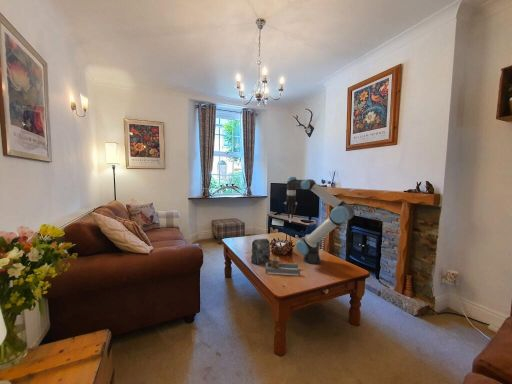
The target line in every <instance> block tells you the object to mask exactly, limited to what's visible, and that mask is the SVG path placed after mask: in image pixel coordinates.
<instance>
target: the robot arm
mask: <svg viewBox="0 0 512 384" xmlns="http://www.w3.org/2000/svg"><path fill="white" fill-rule="evenodd" d="M286 181H287V183H286V184H287V185H286V200H285V201H284V202H283V205H284V209H285V213H286V215H287V218H288V220H289V221H288V222H289V223H292V219H293V218H294V216H293V215H295V214H296V211H297V208H298V206H299V203H298V202H297V201H296V195H297V192H296V191H297V189H300V190H309V191H311V192H313V194H315V195H316V196H317V197H318V198H321V199H322V200H323V201H325V203H327V204H328V205H329V206H331V207H332V210H331V212H330V213H329V214H328V216H327V218H326V219H325V220H324V221H323V222H322V223H321V224H320V225H319V226H317V227H316V228H315V229H314V230H313V231H311V233H309V234H305V236H303V238H301V239H300V240H298V241H296V243H295V250H296V251H297V253H298V254H300V255H301V256H302V255H303V256H302V261H303V262H304V263H306V264H310V265H318V264H320V263H321V257H320V241H321V240H322V239H324V238H325V237H326V236H327V235H328V234H330V233H331V232H332V231H333V230H334V229H335V228H336V227H338V228H339V227H341V226H342V225H344V224H345V223H346V222H347V221H350V220H351V219H353V217H354V215H355V211H354V208H353V206H351V205H350V204H348V203H347V202H346V201H344V200H341V199H340V198H338V197H336V196H335V195H333V194H332V193H331V192H329V191H327V190H326V189H325V188H323V187H322V186H321V185H319V184H318V183H316V181H315V180H314V179H312V178H311V179H297V177H296V176H287V180H286ZM287 206H288V207H287Z"/></svg>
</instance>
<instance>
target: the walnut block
mask: <svg viewBox="0 0 512 384" xmlns="http://www.w3.org/2000/svg"><path fill="white" fill-rule="evenodd" d="M270 258H271V261H270V262H271V268H279V263H280V257H279V256H270Z"/></svg>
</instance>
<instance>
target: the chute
mask: <svg viewBox="0 0 512 384" xmlns="http://www.w3.org/2000/svg"><path fill="white" fill-rule="evenodd" d="M265 274H266V275H267V274H269V275H282V276H283V275H284V276H285V275H286V276H300V269H299V264H298V263H293V262H292V263H291V262H290V263H288V262H279V268H271V261H269V262H268V261H266V262H265Z"/></svg>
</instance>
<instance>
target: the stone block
mask: <svg viewBox="0 0 512 384" xmlns="http://www.w3.org/2000/svg"><path fill="white" fill-rule="evenodd" d="M270 244H271V243H270V240H269V239H268V238H256V239H254V240H252V242H251V257H250V259H251V264H254V265H255V264H256V265H261V264H264V263H266V262H268V261H270V258H271V249H270V248H271V245H270Z"/></svg>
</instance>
